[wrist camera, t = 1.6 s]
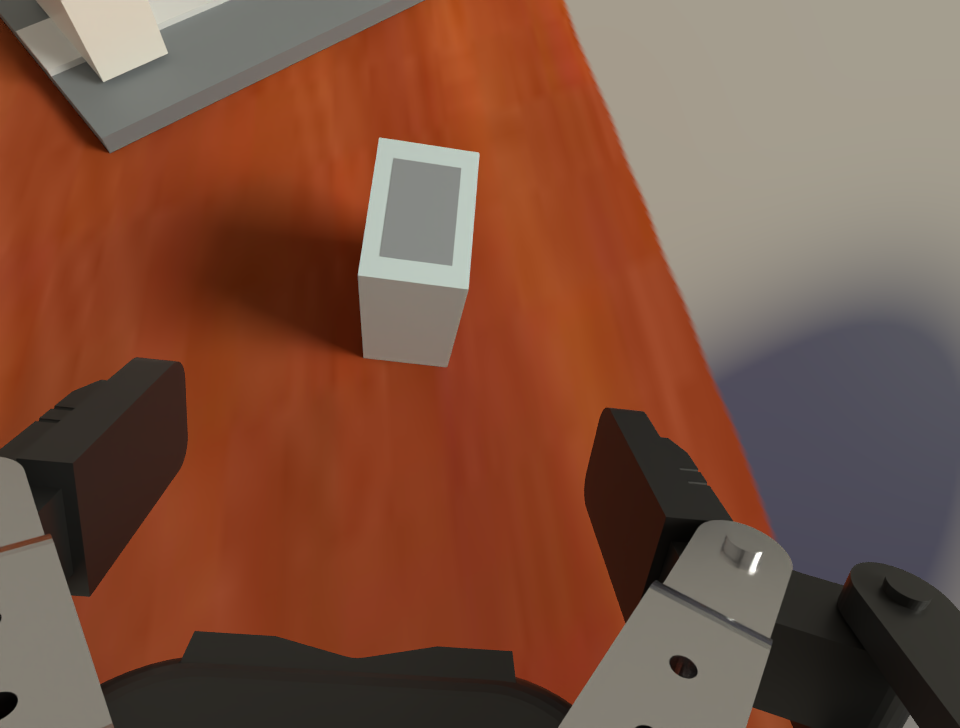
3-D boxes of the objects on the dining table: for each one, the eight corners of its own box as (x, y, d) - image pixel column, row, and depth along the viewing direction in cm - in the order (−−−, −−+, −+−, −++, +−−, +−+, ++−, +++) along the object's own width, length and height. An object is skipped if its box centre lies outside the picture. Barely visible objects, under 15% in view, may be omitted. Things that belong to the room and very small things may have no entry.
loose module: (363, 357, 34) (357, 275, 25) (379, 245, 36) (379, 137, 28) (447, 367, 34) (468, 289, 26) (457, 256, 37) (479, 152, 28)
